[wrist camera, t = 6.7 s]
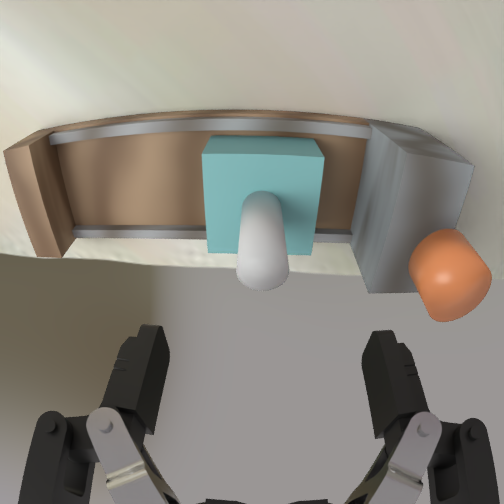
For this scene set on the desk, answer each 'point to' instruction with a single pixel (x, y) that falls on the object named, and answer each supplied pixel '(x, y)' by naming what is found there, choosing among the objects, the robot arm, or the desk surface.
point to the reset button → (449, 275)
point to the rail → (192, 192)
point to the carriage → (261, 202)
